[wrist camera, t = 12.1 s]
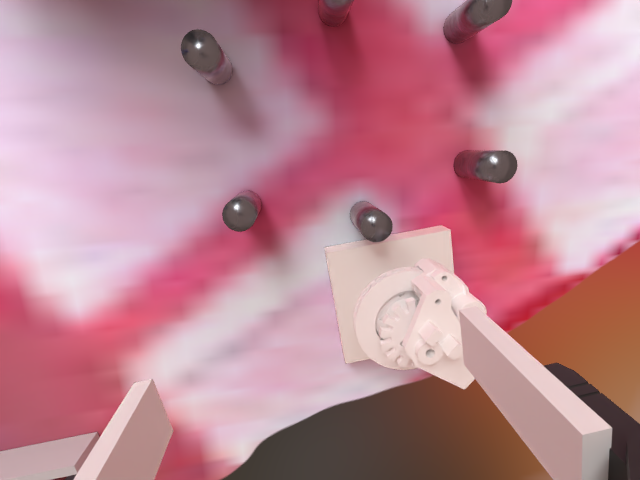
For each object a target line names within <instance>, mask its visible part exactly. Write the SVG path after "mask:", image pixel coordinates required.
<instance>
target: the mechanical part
mask: <svg viewBox="0 0 640 480" xmlns="http://www.w3.org/2000/svg"><path fill="white" fill-rule="evenodd" d="M474 306H477V307H478V308H479V309H480V310H481V311H482V312H484V313H485V314H487V311H486V307H485V305H484V304H483V303H482V302H480V301H479V300H478V299H477V298H475V297H474V296H473V295H472V294H471V293H469V288H468V287H467V286H466V284H465V283H464V282H463V281H462V280H461V279H460V278H459V277H457V276H456V275H455V274H453V273H452V272H451V271H450V270H448V269H447V268H446V267H444V266H443V265H442V264H440V263H438V262H435V261H433V260H431V259H429V258H426V259H423V258H422V259H421V260H419V261H418V262H417V263H416V264H415V265H414V267H401V268H396V269H393V270H390V271H387V272H385V273H383V274H381V275H379V276H378V277H377V278H375V279H374V280H373V281H371V282H370V283H369V284H368V285H367V287H366V288H365V289H364V290H363V291H362V293H361V295H360V296H359V298H358V300H357V303H356V306H355V309H354V315H353V324H354V330H355V333H356V337H357V339H358V342H359V344H360V346H361V348H362V350H363V351H364V352H365V353H366V354H367V356H368V357H369V358H371V359H372V360H373V361H375V362H376V363H378V364H380V365H382V366H384V367H387V368H391V369H396V370H409V369H416V368H420V369H422V370H424V371H426V372H428V373H430V374H432V375H435V376H437V377H439V378H441V379H443V380H445V381H447V382H450V383H452V384H454V385H456V386H458V387H460V388H462V389H466V388H467V386H468V385H469V384H470V383H471V382H472V381H473V380H474V379H475V378H474V377H473V375H472V374H471V373H470V371H469V370H468V369H467V368H466V366H465V365H464V359H463V348H462V338H461V327H460V316H459V310H461V309H465V308H470V307H474Z"/></svg>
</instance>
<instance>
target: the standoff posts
mask: <svg viewBox="0 0 640 480" xmlns="http://www.w3.org/2000/svg"><path fill="white" fill-rule="evenodd" d="M353 1H354V0H319V5H318V13H319V16H320V18H321V20H322V21H323V22H324V23H325V24H327V25H329V26H338V25H340V24H342V23H343V22H344V21H345V19H346V17H347V15H348V12H349V10H350V8H351V5H352V3H353ZM511 4H512V0H466V1H465V2H464V3H463V4H462V5H460V6H459V7H458V8H457V9H456V10H455V11H453V12H452V13H451V14H450V15H449V16H448V17H447V18H446V20H445V22H444V27H443V30H444V35H445V37H446V38H447V40H448V41H450V42H451V43H455V44H458V43H462V42H464V41H465V40H467V39H468V38H470V37H472V36H473V35H475V34H476V33H478V32H480V31H481V30H483V29H484V28H486V27H488V26H489V25H491V24H492V23H494V22H496V21H497V20H499V19H500V18H502V17H503V16H505V15H506V14H507V12H508V11H509V9H510V7H511ZM181 51H182V55H183V58H184V59H185V61H186V62H187V63H188V64H189V65H190V66H191V67H192V68H194V69H195V70H196V71H197V72H198V73H200V74H201V75H202V76H203V77H204V78H206V79H207V80H208V81H209V82H211V83H213V84H217V85H220V84H224V83H226V82H227V81H228V80H229V79H230V77H231V75H232V65H231V62H230V60H229V59H228V57H227V56H226V54H225V53H224V52H223V50H222V49H221V47H220V46H219V44H218V43H217V41H216V40H215V39H214V37H213V36H212V35H211V34H210V33H208V32H206V31H204V30H199V29H197V30H192V31H190V32H188V33H187V34H186V35H185V37H184V38H183V40H182V44H181ZM454 170H455V172H456V174H457V175H459V176H460V177H464V178H470V179H476V180H482V181H489V182H495V183H504V182H507V181H509V180H510V179H511V178H512V177H513V176H514V174H515V172H516V170H517V160H516V158H515V156H514V155H513V154H512V153H511V152H508V151H468V150H467V151H463V152H461V153H460V154H458V156H457V157H456V158H455V161H454ZM261 206H262V203H261V199H260V197H259V196H258V195H257V194H256V193H254V192H252V191H243V192H241V193H239V194H238V195H237V196H236V197H234V198H233V199H232V200H231V201H230V202H228V203H227V204H226V206H225V207H224V209H223V213H222V216H223V221H224V223H225V224H226V225H227V226H228V227H229V228H230V229H232V230H234V231H245V230H247V229H249V228H250V227H251V226H252V225H253V224H254V222H255V220H256V218H257V216H258V214H259V212H260V210H261ZM350 219H351V221H352V223H353V224H354V225H355V226H356V227H357V229H358V230H359V231H360V232H361V233H362V235H363V236H364V237H365V238H366V239H367V240H369V241H371V242H381V241H384V240H385V239H387V238H388V237H389V235H390V234H391V231H392V221H391V219H390V217H389V216H388V215H387V214H385V213H384V212H382V211H381V210H379V209H378V208H376V207H375V206H373V205H372V204H370V203H369V202H365V201H361V202H358V203H356V204H355V205H354V206H353V207H352V208H351V211H350Z"/></svg>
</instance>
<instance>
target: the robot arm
mask: <svg viewBox="0 0 640 480" xmlns="http://www.w3.org/2000/svg"><path fill="white" fill-rule="evenodd" d="M459 316H460V327H461V338H462V348H463V359H464V365H465V366H466V368H467V369H468V370H469V371H470V373H471V374H472V375H473V377H474V378H475V379H476V380H477V382H478V383H479V384H480V386H481V387H482V388H483V389H484V391H485V392H486V393H487V395H488V396H489V397H490V398H491V400H492V401H493V402H494V404H495V405H496V406H497V408H498V409H499V410H500V411H501V413H502V414H503V415H504V417H505V418H506V419H507V420H508V422H509V423H510V424H511V426H512V427H513V428H514V429H515V431H516V432H517V433H518V435H519V436H520V437H521V439H522V440H523V441H524V442H525V444H526V445H527V446H528V448H529V449H530V450H531V452H532V453H533V454H534V455H535V457H536V458H537V459H538V461H539V462H540V463H541V464H542V466H543V467H544V468H545V469H546V471H547V472H548V473H549V475H550V476H551V477H552V478H553V480H640V424H639V423H637V422H636V421H635V420H634V419H633V418H632V417H630V416H629V415H628V414H627V413H625V412H624V411H623V410H622V409H621V408H619V407H618V406H617V405H616V404H614V403H613V402H612V401H611V400H609V399H608V398H607V397H606V396H605V395H603V394H602V393H601V394H600V392H599V391H598V390H597V389H596V388H595V387H593V386H592V385H591V384H588V382H587V381H586V380H585V379H584V378H583V377H581V376H580V375H579V374H578V373H576V372H575V371H574V370H571V369H569V368H567V367H565V366H563V365H561V364H559V363H554V364H549V365H545V366H543V365H541V364H540V363H539V362H538V361H537V360H536V359H535V358H534V357H533V356H531V355H530V354H529V353H528V352H527V351H526V350H525V349H524V348H523V347H521V346H520V345H519V344H518V343H517V342H516V341H515V340H514V339H513V338H511V337H510V336H509V335H508V334H507V333H506V332H505V331H504V330H503V329H501V328H500V327H499V326H498V325H497V324H496V323H495V322H494V321H493V320H491V319H490V318H489V317H488V316H487V315H486V314H485V313H484V312H482V311H481V310H480V309H479V308H478V307H477V306H474V307H470V308H465V309H461V310H459ZM172 433H173V429H172V426H171V424H170V421H169V419H168V416H167V414H166V411H165V409H164V406H163V404H162V401H161V399H160V396H159V394H158V391H157V389H156V386H155V384H154V381H153V379H148V380H144V381H139V382H135V383H134V384H133V385H132V387H131V388H130V390H129V392H128V393H127V395H126V396H125V398H124V400H123V401H122V403H121V404H120V406H119V408H118V409H117V411H116V412H115V414H114V416H113V417H112V419H111V420H110V422H109V424H108V425H107V427H106V428H105V430H104V432H103V433H102V435H101V436H100V438H99V439H98V441H97V443H96V444H95V446H94V447H93V449H92V451H91V452H90V454H89V455H88V457H87V459H86V460H85V462H84V463H83V465H82V467H81V468H80V470H79V471H78V473H77V474H75V475H71V476H68V477H67V478H66V479H65V480H154V479H155V476H156V474H157V471H158V469H159V466H160V464H161V461H162V458H163V456H164V453H165V451H166V448H167V446H168V443H169V440H170V438H171V435H172Z"/></svg>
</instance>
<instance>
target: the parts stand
mask: <svg viewBox="0 0 640 480" xmlns="http://www.w3.org/2000/svg"><path fill="white" fill-rule="evenodd" d="M324 249H325V254H326V260H327V266H328V271H329V277H330V283H331V288H332V294H333V299H334V305H335V311H336V316H337V322H338V328H339V333H340V339H341V345H342V350H343V355H344V359H345V363H346V364H347V363H352V362H357V361H362V360H367V359H371V358H369V357H368V356H367V354H366V353H365V352H364V351H363V350H362V348H361V346H360V344H359V342H358V339H357V337H356V333H355V330H354V324H353V315H354V309H355V306H356V303H357V300H358V298H359V296H360V295H361V293H362V291H363V290H364V289H365V288H366V287H367V285H368V284H369V283H370V282H371V281H373V280H374V279H375V278H377V277H378V276H379V275H381V274H383V273H385V272H387V271H390V270H393V269H396V268H401V267H414V265H415V264H416V263H417V262H418V261H419V260H421V259H422V258H423V259H426V258H429V259H431V260H433V261H435V262H438V263H440V264H442V265H443V266H444V267H446V268H447V269H448V270H450V271H451V272H452V273H453V274H454V266H453V254H452V242H451V230H450V229H448V228H446V227H444V226H442V225H440V226H434V227H429V228H424V229H418V230H413V231H408V232H402V233H397V234H392V235H389V237H388V238H387V239H385V240H384V241H381V242H371V241H369V240H367V239H365V240H360V241H355V242H349V243H344V244H339V245H334V246H328V247H324Z"/></svg>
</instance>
